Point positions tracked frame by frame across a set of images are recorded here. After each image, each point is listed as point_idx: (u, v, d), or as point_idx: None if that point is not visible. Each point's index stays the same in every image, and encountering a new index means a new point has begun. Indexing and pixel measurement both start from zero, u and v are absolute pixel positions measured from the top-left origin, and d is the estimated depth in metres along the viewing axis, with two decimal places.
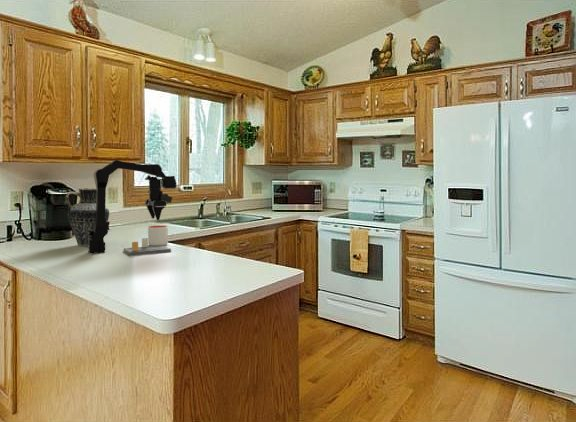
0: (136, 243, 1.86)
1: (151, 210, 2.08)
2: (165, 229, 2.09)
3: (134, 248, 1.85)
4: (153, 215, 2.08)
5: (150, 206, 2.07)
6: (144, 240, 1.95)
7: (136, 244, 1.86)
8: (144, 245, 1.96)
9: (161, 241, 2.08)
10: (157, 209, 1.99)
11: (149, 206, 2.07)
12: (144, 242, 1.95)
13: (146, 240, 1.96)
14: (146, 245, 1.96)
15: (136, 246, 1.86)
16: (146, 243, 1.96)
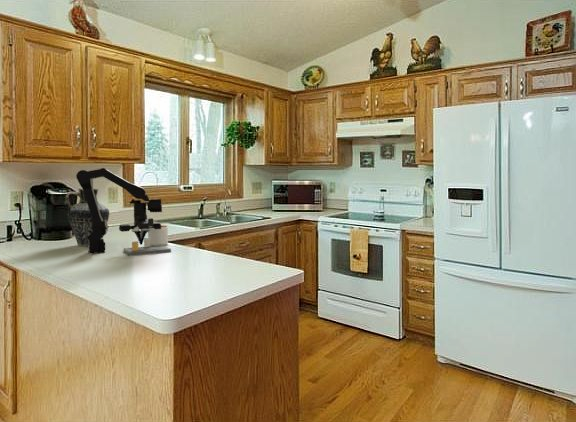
0: (136, 243, 1.86)
1: None
2: (165, 229, 2.09)
3: (134, 248, 1.85)
4: None
5: (141, 231, 1.96)
6: (146, 240, 1.96)
7: (136, 244, 1.86)
8: (146, 245, 1.96)
9: (161, 241, 2.08)
10: None
11: (141, 231, 1.97)
12: (146, 242, 1.96)
13: (148, 240, 1.97)
14: (148, 245, 1.97)
15: (136, 246, 1.86)
16: (148, 243, 1.97)
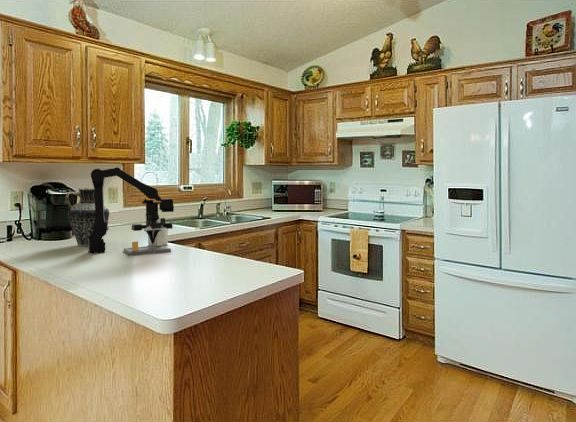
0: (136, 243, 1.86)
1: (152, 234, 1.99)
2: (165, 229, 2.09)
3: (134, 248, 1.85)
4: None
5: (153, 230, 1.99)
6: (158, 239, 1.99)
7: (136, 244, 1.86)
8: (158, 244, 1.99)
9: None
10: (149, 232, 1.98)
11: (152, 230, 2.00)
12: (158, 241, 1.99)
13: (160, 239, 2.00)
14: (160, 244, 2.00)
15: (136, 246, 1.86)
16: (160, 242, 2.00)
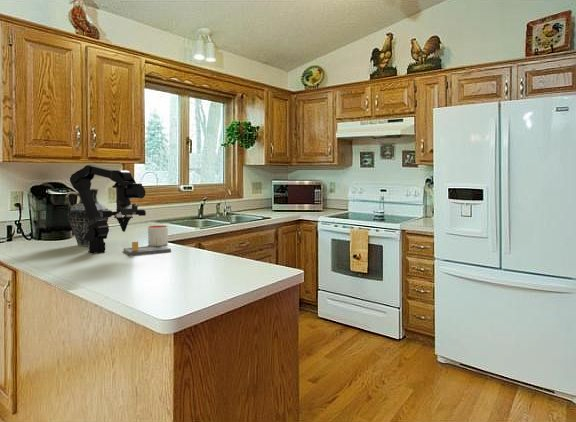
0: (136, 243, 1.86)
1: (124, 222, 1.84)
2: (165, 229, 2.09)
3: (134, 248, 1.85)
4: None
5: (124, 217, 1.84)
6: (158, 239, 1.99)
7: (136, 244, 1.86)
8: (158, 244, 1.99)
9: None
10: None
11: (124, 217, 1.85)
12: (158, 241, 1.99)
13: (160, 239, 2.00)
14: (160, 244, 2.00)
15: (136, 246, 1.86)
16: (160, 242, 2.00)
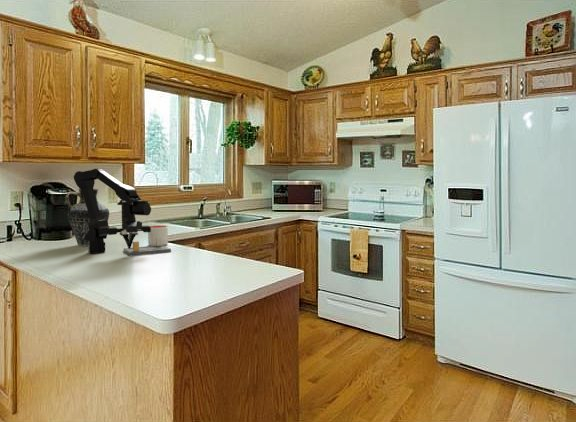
0: (137, 243, 1.86)
1: (129, 239, 1.85)
2: (165, 229, 2.09)
3: (135, 248, 1.85)
4: None
5: (129, 234, 1.85)
6: (158, 239, 1.99)
7: (137, 244, 1.86)
8: (158, 244, 1.99)
9: None
10: None
11: (129, 234, 1.86)
12: (158, 241, 1.99)
13: (160, 239, 2.00)
14: (160, 244, 2.00)
15: (136, 246, 1.86)
16: (160, 242, 2.00)
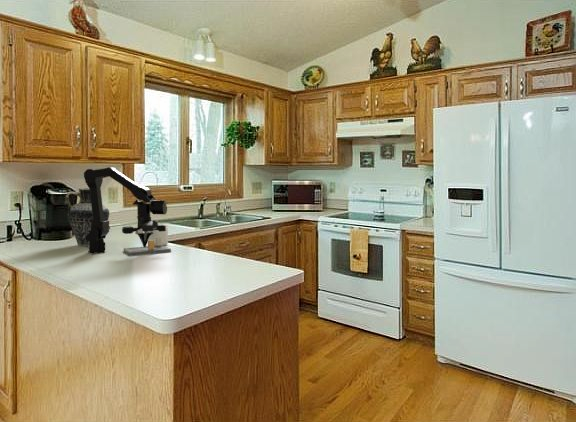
0: (152, 242, 1.90)
1: (144, 237, 1.89)
2: None
3: (150, 247, 1.89)
4: None
5: (145, 233, 1.89)
6: (158, 239, 1.99)
7: (152, 243, 1.90)
8: (158, 244, 1.99)
9: None
10: None
11: (144, 233, 1.90)
12: (158, 241, 1.99)
13: (160, 239, 2.00)
14: (160, 244, 2.00)
15: (152, 245, 1.90)
16: (160, 242, 2.00)
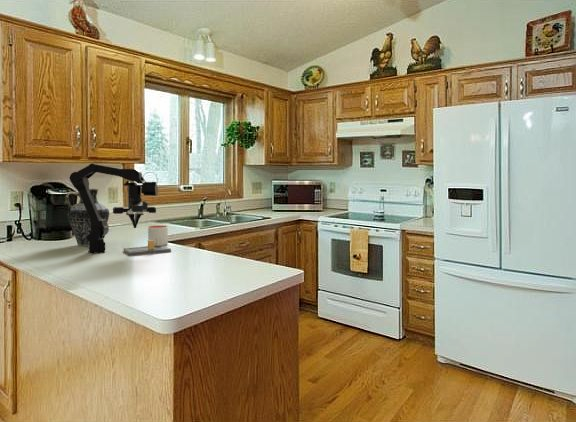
0: (152, 242, 1.90)
1: (135, 219, 1.91)
2: (165, 229, 2.09)
3: (150, 247, 1.89)
4: None
5: (135, 214, 1.92)
6: (158, 239, 1.99)
7: (152, 243, 1.90)
8: (158, 244, 1.99)
9: None
10: (131, 216, 1.90)
11: (135, 214, 1.92)
12: (158, 241, 1.99)
13: (160, 239, 2.00)
14: (160, 244, 2.00)
15: (152, 245, 1.90)
16: (160, 242, 2.00)
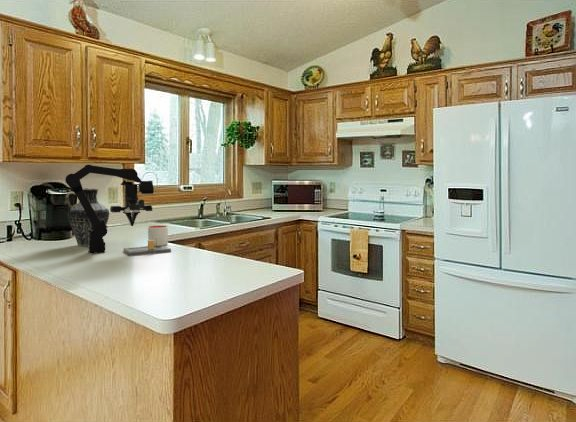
0: (152, 242, 1.90)
1: (132, 217, 1.97)
2: (165, 229, 2.09)
3: (150, 247, 1.89)
4: None
5: (132, 213, 1.97)
6: (158, 239, 1.99)
7: (152, 243, 1.90)
8: (158, 244, 1.99)
9: None
10: None
11: (132, 212, 1.97)
12: (158, 241, 1.99)
13: (160, 239, 2.00)
14: (160, 244, 2.00)
15: (152, 245, 1.90)
16: (160, 242, 2.00)
